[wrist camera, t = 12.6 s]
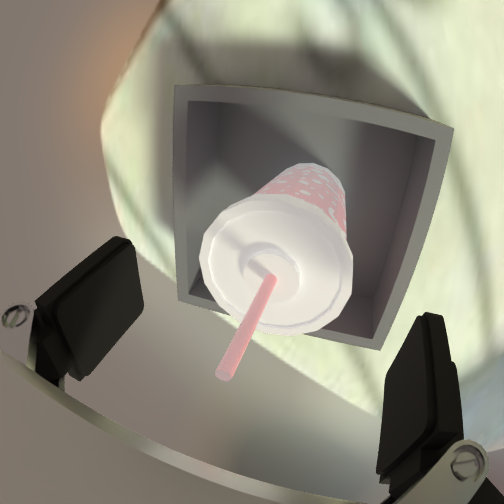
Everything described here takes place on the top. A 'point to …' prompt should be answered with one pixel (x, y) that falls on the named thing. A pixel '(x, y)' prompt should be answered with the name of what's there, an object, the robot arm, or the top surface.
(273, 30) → the top surface
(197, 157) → the bin
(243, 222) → the beverage cup
